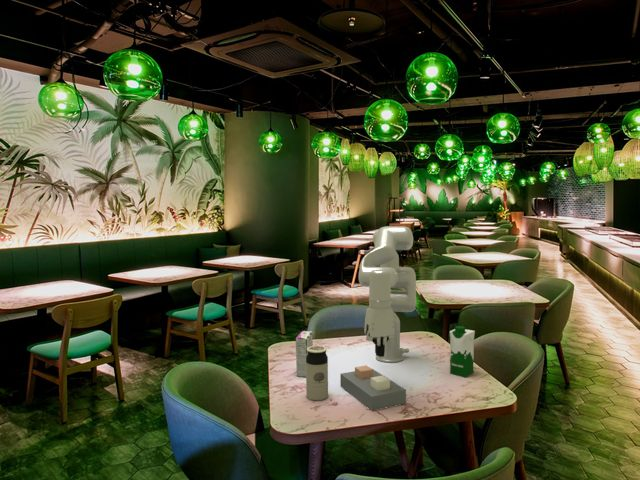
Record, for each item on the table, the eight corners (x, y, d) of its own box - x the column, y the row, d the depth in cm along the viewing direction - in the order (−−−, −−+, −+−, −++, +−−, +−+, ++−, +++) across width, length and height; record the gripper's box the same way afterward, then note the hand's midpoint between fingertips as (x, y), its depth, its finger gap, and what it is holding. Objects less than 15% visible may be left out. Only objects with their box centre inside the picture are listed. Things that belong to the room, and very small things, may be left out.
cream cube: (382, 388, 165) (382, 375, 165) (389, 393, 160) (389, 380, 160) (370, 391, 163) (370, 377, 163) (377, 396, 158) (377, 382, 158)
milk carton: (447, 373, 188) (447, 326, 187) (457, 368, 194) (457, 322, 193) (467, 378, 182) (467, 330, 181) (476, 372, 188) (477, 325, 187)
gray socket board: (371, 380, 181) (371, 368, 181) (406, 403, 159) (406, 389, 159) (340, 386, 176) (340, 373, 175) (371, 411, 154) (371, 396, 153)
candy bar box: (302, 367, 197) (301, 330, 196) (313, 368, 196) (313, 331, 195) (295, 376, 186) (295, 337, 185) (307, 377, 185) (307, 338, 184)
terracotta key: (366, 377, 176) (366, 365, 176) (372, 382, 171) (372, 369, 171) (354, 379, 174) (354, 367, 174) (361, 384, 169) (361, 371, 169)
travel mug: (307, 392, 170) (306, 345, 169) (328, 392, 170) (327, 345, 169) (305, 400, 162) (305, 351, 161) (327, 401, 162) (327, 351, 161)
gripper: (392, 301, 166) (392, 350, 167) (356, 304, 160) (356, 355, 161) (403, 304, 159) (403, 356, 160) (366, 308, 153) (366, 361, 154)
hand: (379, 355), depth 160 cm, fingers closed
